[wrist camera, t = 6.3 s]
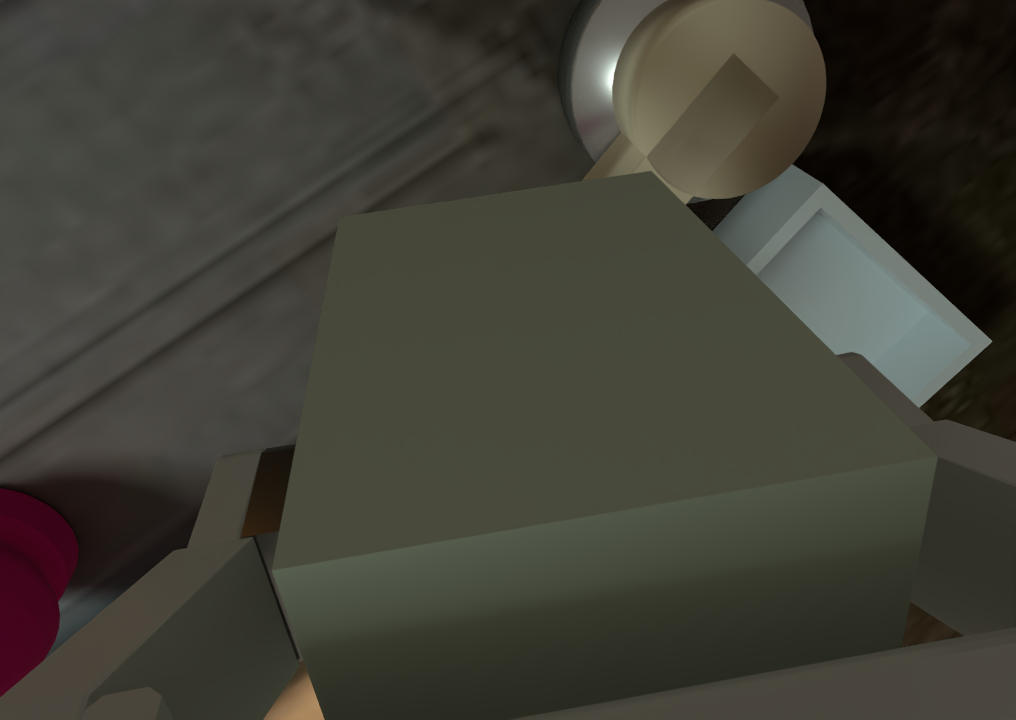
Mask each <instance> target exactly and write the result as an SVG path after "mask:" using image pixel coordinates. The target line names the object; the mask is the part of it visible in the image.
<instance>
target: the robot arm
mask: <svg viewBox="0 0 1016 720" xmlns="http://www.w3.org/2000/svg"><path fill="white" fill-rule="evenodd" d="M837 356H838V357H839V358H840V359H841V360H842V361H843V362H844V363H845V364H846V365H847V366H848V367H849V368H850V369H851V370H852V371H853V372H854V373H855V374H856V375H857V376H858V377H859V378H860V379H861V380H862V381H863V382H864V383H865V384H866V385H867V386H868V387H869V388H870V389H871V390H872V391H873V392H874V393H875V394H876V395H877V396H878V397H879V398H880V399H881V400H882V401H883V402H884V403H885V404H886V405H887V406H888V407H889V408H890V409H891V410H892V411H893V412H894V413H895V414H896V415H897V416H898V417H899V418H900V419H901V420H902V421H903V422H904V423H905V424H906V425H907V426H908V427H909V428H910V429H911V430H912V431H913V432H914V433H915V434H916V435H917V436H918V437H919V438H920V439H921V440H922V441H923V442H924V443H925V444H926V445H927V446H928V447H929V448H930V449H931V450H932V451H933V452H934V453H935V454H936V455H937V456H938V459H937V464H936V469H935V474H934V480H933V485H932V490H931V495H930V500H929V506H928V511H927V516H926V521H925V526H924V532H923V537H922V542H921V547H920V553H919V558H918V563H917V568H916V573H915V579H914V584H913V589H912V594H911V599H910V602H912V603H913V604H915V605H917V606H918V607H920V608H921V609H923V610H924V611H926V612H928V613H929V614H931V615H932V616H934V617H935V618H937V619H939V620H940V621H942V622H943V623H945V624H946V625H948V626H950V627H951V628H953V629H954V630H956V631H957V632H959V633H960V634H962V635H964V636H963V637H958V638H952V639H947V640H941V641H936V642H930V643H925V644H919V645H914V646H908V647H903V648H897V649H892V650H886V651H881V652H875V653H870V654H864V655H859V656H853V657H848V658H842V659H837V660H831V661H825V662H820V663H814V664H809V665H803V666H798V667H792V668H787V669H781V670H776V671H770V672H765V673H760V674H754V675H749V676H743V677H738V678H732V679H727V680H722V681H716V682H711V683H705V684H700V685H694V686H689V687H684V688H678V689H673V690H667V691H662V692H657V693H651V694H646V695H640V696H635V697H629V698H624V699H619V700H613V701H608V702H602V703H597V704H591V705H586V706H581V707H575V708H570V709H564V710H559V711H554V712H548V713H543V714H537V715H532V716H526V717H521V718H516V719H510V720H1016V442H1013V441H1010V440H1007V439H1004V438H1001V437H998V436H995V435H992V434H989V433H986V432H983V431H980V430H977V429H974V428H971V427H968V426H965V425H962V424H959V423H955V422H952V421H949V420H942V421H936V422H934V421H932V420H931V419H930V418H929V417H928V416H927V415H926V414H925V413H924V412H923V411H922V410H921V409H920V408H919V407H917V406H916V405H915V404H914V403H913V402H912V401H911V400H910V399H909V398H908V397H907V396H906V395H905V394H903V393H902V392H901V391H900V390H899V389H898V388H897V387H896V386H895V385H894V384H893V383H892V382H891V381H889V380H888V379H887V378H886V377H885V376H884V375H883V374H882V373H881V372H880V371H879V370H878V369H877V368H875V367H874V366H873V365H872V364H871V363H870V362H869V361H868V360H867V359H866V358H865V357H864V356H863V355H861V354H858V353H854V352H848V353H843V354H838V355H837ZM295 446H296V444H294V445H287V446H280V447H273V448H267V449H266V450H264V449H258V450H252V451H246V452H241V453H235V454H229V455H224V456H222V457H221V458H219V459H218V460H217V462H216V463H215V466H214V469H213V472H212V475H211V478H210V481H209V484H208V487H207V490H206V493H205V496H204V499H203V502H202V505H201V508H200V511H199V514H198V517H197V520H196V523H195V526H194V529H193V532H192V535H191V538H190V541H189V543H188V546H187V548H185V549H179V550H174V551H172V552H171V553H170V554H169V555H168V556H167V557H165V558H164V559H163V560H162V561H161V562H159V563H158V564H157V565H156V566H155V567H154V568H152V569H151V570H150V571H149V572H148V573H146V574H145V575H144V576H143V577H142V578H141V579H139V580H138V581H137V582H136V583H135V584H134V585H132V586H131V587H130V588H129V589H128V590H126V591H125V592H124V593H123V594H122V595H121V596H119V597H118V598H117V599H116V600H115V601H113V602H112V603H111V604H110V605H109V606H108V607H106V608H105V609H104V610H103V611H102V612H100V613H99V614H98V615H97V616H96V617H95V618H93V619H92V620H91V621H90V622H89V623H87V624H86V625H85V626H84V627H83V628H82V629H80V630H79V631H78V632H77V633H76V634H74V635H73V636H72V637H71V638H70V639H69V640H67V641H66V642H65V643H64V644H63V645H62V646H60V647H59V648H58V649H57V650H56V651H54V652H53V653H52V654H51V655H50V656H49V657H47V658H46V659H45V660H44V661H43V662H41V663H40V664H39V665H38V666H37V667H36V668H34V669H33V670H32V671H31V672H30V673H28V674H27V675H26V676H25V677H24V678H23V679H21V680H20V681H19V682H18V683H17V684H15V685H14V686H13V687H12V688H11V689H10V690H8V691H7V692H6V693H5V694H4V695H2V696H1V697H0V720H263V719H264V717H265V716H266V714H267V713H268V711H269V710H270V708H271V707H272V705H273V704H274V702H275V701H276V700H277V698H278V697H279V695H280V694H281V692H282V691H283V689H284V688H285V686H286V685H287V683H288V682H289V680H290V679H291V678H292V676H293V675H294V673H295V672H296V670H297V669H298V667H299V664H298V662H300V661H304V660H303V657H302V654H301V652H300V649H299V646H298V643H297V640H296V638H295V635H294V632H293V629H292V626H291V623H290V621H289V618H288V615H287V612H286V609H285V607H284V604H283V601H282V598H281V595H280V593H279V590H278V587H277V584H276V581H275V579H274V576H273V573H272V566H273V561H274V556H275V550H276V545H277V540H278V535H279V530H280V524H281V519H282V514H283V509H284V504H285V498H286V493H287V488H288V483H289V478H290V472H291V467H292V462H293V457H294V452H295Z"/></svg>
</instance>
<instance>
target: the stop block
mask: <svg viewBox="0 0 1016 720" xmlns="http://www.w3.org/2000/svg"><path fill="white" fill-rule="evenodd" d="M937 459H938V456H937V455H936V454H935V453H934V452H933V451H932V450H931V449H930V448H929V447H928V446H927V445H926V444H925V443H924V442H923V441H922V440H921V439H920V438H919V437H918V436H917V435H916V434H915V433H914V432H913V431H912V430H911V429H910V428H909V427H908V426H907V425H906V424H905V423H904V422H903V421H902V420H901V419H900V418H899V417H898V416H897V415H896V414H895V413H894V412H893V411H892V410H891V409H890V408H889V407H888V406H887V405H886V404H885V403H884V402H883V401H882V400H881V399H880V398H879V397H878V396H877V395H876V394H875V393H874V392H873V391H872V390H871V389H870V388H869V387H868V386H867V385H866V384H865V383H864V382H863V381H862V380H861V379H860V378H859V377H858V376H857V375H856V374H855V373H854V372H853V371H852V370H851V369H850V368H849V367H848V366H847V365H846V364H845V363H844V362H843V361H842V360H841V359H840V358H839V357H838V356H837V355H836V354H835V353H834V352H833V351H832V350H831V349H830V348H829V347H828V346H826V345H825V344H824V343H823V342H822V341H821V340H820V339H819V338H818V337H817V336H816V335H815V334H814V333H813V332H812V331H811V330H810V329H809V328H808V327H807V326H806V325H805V324H804V323H803V322H802V321H801V320H800V319H799V318H798V317H797V316H796V315H795V314H794V313H793V312H792V311H791V310H790V309H789V308H788V307H787V306H786V305H785V304H784V303H783V302H782V301H781V300H780V299H779V298H778V297H777V296H776V295H775V294H774V293H773V292H772V291H771V290H770V289H769V288H768V287H767V286H766V285H765V284H764V283H763V282H762V281H761V280H760V279H759V278H758V277H757V276H756V275H755V274H754V273H753V272H752V271H751V270H750V269H749V268H748V267H747V266H746V265H745V264H744V263H743V262H742V261H741V260H740V259H739V258H738V257H737V256H736V255H735V254H734V253H733V252H732V251H731V250H730V249H729V248H728V247H727V246H726V245H725V244H724V243H723V242H722V241H721V240H720V239H719V238H718V237H717V236H716V235H715V234H714V233H713V232H712V231H711V230H710V229H709V228H708V227H707V226H706V225H705V224H704V223H703V222H702V221H701V220H700V219H699V218H698V217H697V216H696V215H695V214H694V213H693V212H692V211H691V210H690V209H689V208H688V207H687V206H686V205H685V204H684V203H683V202H682V201H681V200H680V199H679V198H678V197H677V196H676V195H675V194H674V193H673V192H672V191H671V190H670V189H669V188H668V187H667V186H666V185H665V184H664V183H663V182H662V181H661V180H660V179H659V178H658V177H657V176H656V175H655V174H654V173H653V172H652V171H646V172H640V173H633V174H626V175H620V176H613V177H606V178H599V179H593V180H586V181H579V182H573V183H566V184H559V185H553V186H546V187H539V188H533V189H526V190H519V191H513V192H506V193H499V194H493V195H486V196H479V197H473V198H466V199H459V200H453V201H446V202H439V203H433V204H426V205H419V206H413V207H406V208H399V209H393V210H386V211H379V212H372V213H366V214H359V215H352V216H346V217H340V218H339V223H338V228H337V233H336V238H335V244H334V249H333V254H332V259H331V264H330V270H329V275H328V280H327V285H326V290H325V296H324V301H323V306H322V311H321V316H320V322H319V327H318V332H317V337H316V342H315V348H314V353H313V358H312V363H311V368H310V374H309V379H308V384H307V389H306V394H305V400H304V405H303V410H302V415H301V420H300V426H299V431H298V436H297V441H296V446H295V452H294V457H293V462H292V467H291V472H290V478H289V483H288V488H287V493H286V498H285V504H284V509H283V514H282V519H281V524H280V530H279V535H278V540H277V545H276V550H275V556H274V561H273V566H272V573H273V576H274V579H275V581H276V584H277V587H278V590H279V593H280V595H281V598H282V601H283V604H284V607H285V609H286V612H287V615H288V618H289V621H290V623H291V626H292V629H293V632H294V635H295V638H296V640H297V643H298V646H299V649H300V652H301V654H302V657H303V660H304V663H305V666H306V668H307V671H308V674H309V677H310V680H311V682H312V685H313V688H314V691H315V694H316V696H317V699H318V702H319V705H320V708H321V711H322V713H323V716H324V719H325V720H510V719H516V718H521V717H526V716H532V715H537V714H543V713H548V712H554V711H559V710H564V709H570V708H575V707H581V706H586V705H591V704H597V703H602V702H608V701H613V700H619V699H624V698H629V697H635V696H640V695H646V694H651V693H657V692H662V691H667V690H673V689H678V688H684V687H689V686H694V685H700V684H705V683H711V682H716V681H722V680H727V679H732V678H738V677H743V676H749V675H754V674H760V673H765V672H770V671H776V670H781V669H787V668H792V667H798V666H803V665H809V664H814V663H820V662H825V661H831V660H837V659H842V658H848V657H853V656H859V655H864V654H870V653H875V652H881V651H886V650H892V649H897V648H901V646H902V641H903V636H904V631H905V626H906V620H907V615H908V610H909V605H910V599H911V594H912V589H913V584H914V579H915V573H916V568H917V563H918V558H919V553H920V547H921V542H922V537H923V532H924V526H925V521H926V516H927V511H928V506H929V500H930V495H931V490H932V485H933V480H934V474H935V469H936V464H937Z"/></svg>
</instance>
